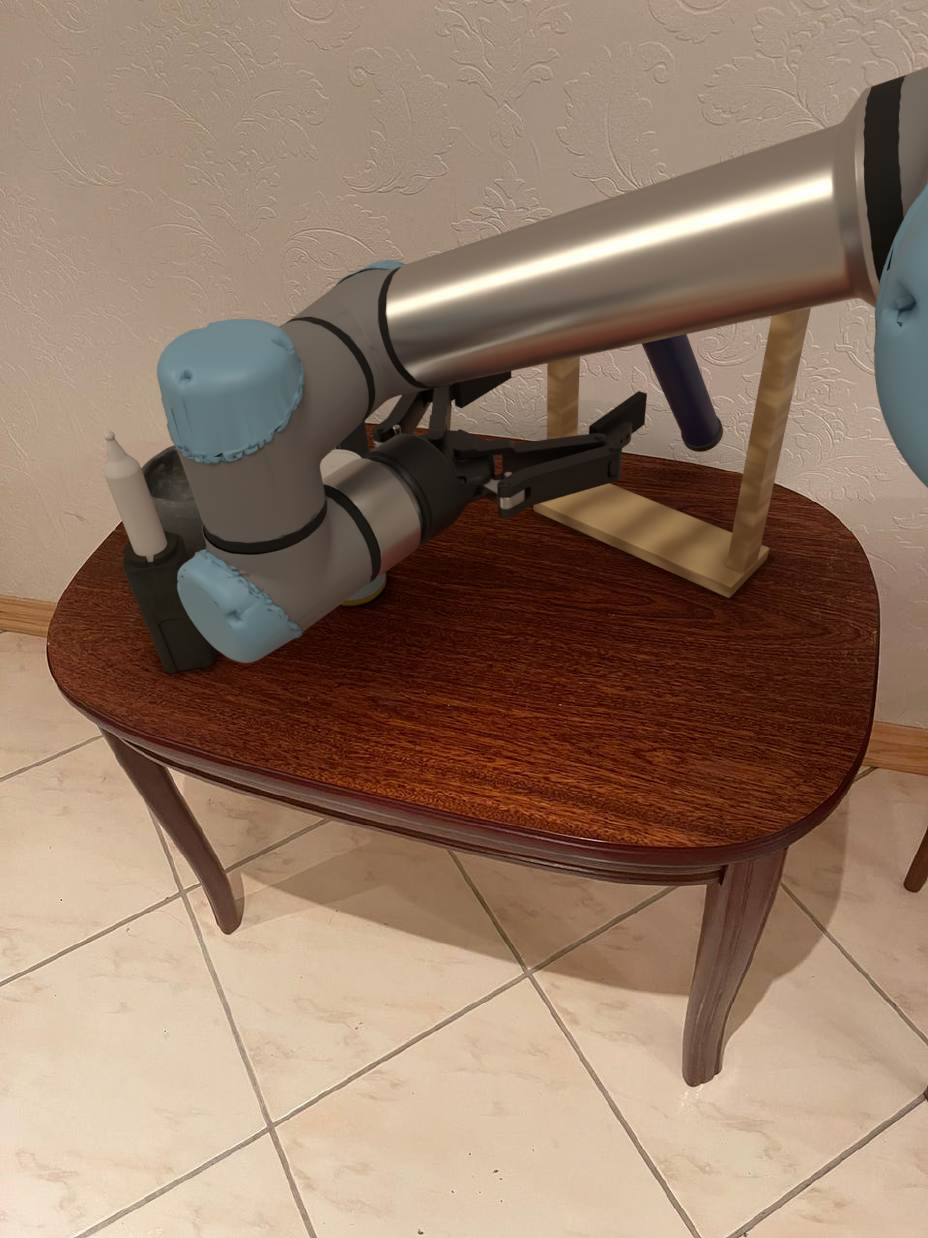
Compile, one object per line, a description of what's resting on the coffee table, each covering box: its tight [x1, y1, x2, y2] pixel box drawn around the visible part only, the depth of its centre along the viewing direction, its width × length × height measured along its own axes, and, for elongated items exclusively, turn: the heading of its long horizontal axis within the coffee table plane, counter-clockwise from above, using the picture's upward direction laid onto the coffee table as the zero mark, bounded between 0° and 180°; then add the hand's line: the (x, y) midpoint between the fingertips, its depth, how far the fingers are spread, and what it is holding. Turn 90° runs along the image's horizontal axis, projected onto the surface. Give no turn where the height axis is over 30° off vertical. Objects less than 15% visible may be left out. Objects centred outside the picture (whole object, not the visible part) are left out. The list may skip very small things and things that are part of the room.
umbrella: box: [641, 334, 724, 453], centre depth 87 cm, size 10×4×26 cm
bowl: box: [141, 444, 207, 559], centre depth 98 cm, size 15×15×10 cm
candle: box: [103, 430, 217, 675], centre depth 79 cm, size 5×5×25 cm
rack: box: [533, 308, 812, 599], centre depth 87 cm, size 25×8×31 cm, turn 48°
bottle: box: [320, 450, 387, 607], centre depth 89 cm, size 7×7×15 cm
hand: (571, 383), depth 73 cm, fingers open, 13 cm apart
